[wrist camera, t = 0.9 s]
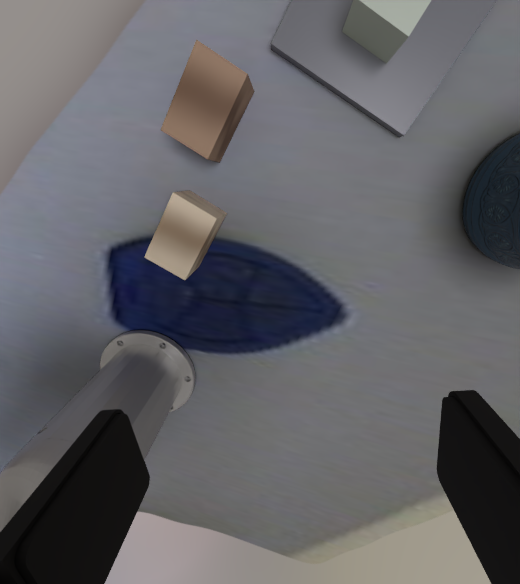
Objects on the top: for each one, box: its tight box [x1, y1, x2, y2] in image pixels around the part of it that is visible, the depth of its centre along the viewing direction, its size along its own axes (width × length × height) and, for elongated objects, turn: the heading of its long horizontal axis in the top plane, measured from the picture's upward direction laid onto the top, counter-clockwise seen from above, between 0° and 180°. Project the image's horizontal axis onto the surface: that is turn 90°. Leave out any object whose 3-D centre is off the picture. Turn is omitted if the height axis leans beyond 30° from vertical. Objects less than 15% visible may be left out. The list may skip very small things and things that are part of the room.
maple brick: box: [145, 191, 227, 280], centre depth 31 cm, size 7×4×5 cm, turn 150°
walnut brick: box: [161, 40, 254, 162], centre depth 26 cm, size 7×4×5 cm, turn 150°
